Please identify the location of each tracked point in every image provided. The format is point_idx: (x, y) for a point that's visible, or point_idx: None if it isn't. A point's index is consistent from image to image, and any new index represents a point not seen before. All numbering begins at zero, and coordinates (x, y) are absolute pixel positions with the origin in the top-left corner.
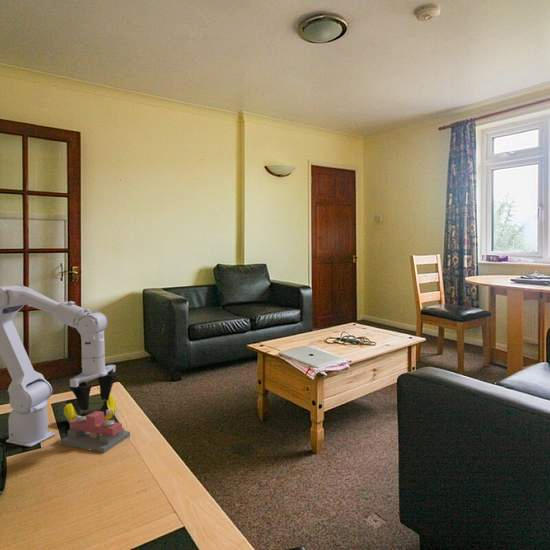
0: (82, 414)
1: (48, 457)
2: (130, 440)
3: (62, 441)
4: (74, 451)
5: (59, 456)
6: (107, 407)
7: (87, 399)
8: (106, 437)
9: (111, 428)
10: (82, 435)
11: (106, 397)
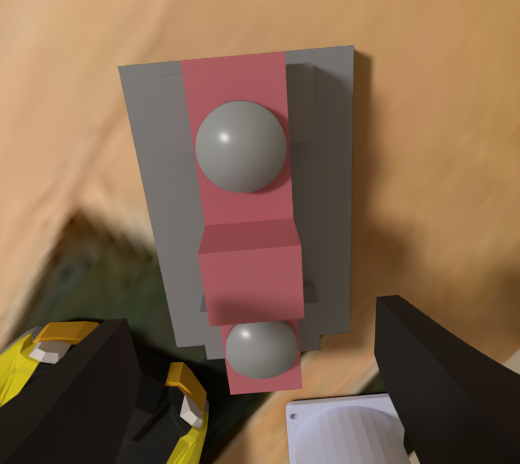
0: (141, 434)
1: (453, 268)
2: (166, 14)
3: (348, 318)
4: (378, 211)
5: (435, 234)
6: (22, 389)
7: (453, 353)
8: (310, 79)
9: (282, 66)
10: None
11: (118, 342)
